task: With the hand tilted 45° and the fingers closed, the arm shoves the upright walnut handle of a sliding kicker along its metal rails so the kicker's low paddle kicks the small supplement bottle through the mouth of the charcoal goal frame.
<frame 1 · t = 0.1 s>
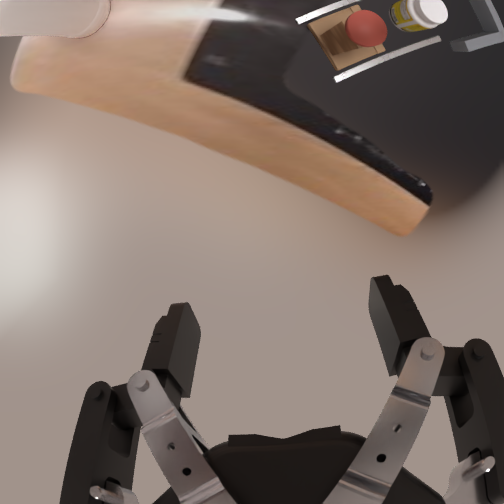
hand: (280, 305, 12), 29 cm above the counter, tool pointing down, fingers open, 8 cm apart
supplement bottle: (402, 17, 25), on the counter
track: (453, 4, 21), on the counter
kicker: (361, 30, 22), point 7 cm above the counter, slide at 0.0 cm
goal: (453, 4, 21), on the counter
bottle: (88, 14, 25), on the counter
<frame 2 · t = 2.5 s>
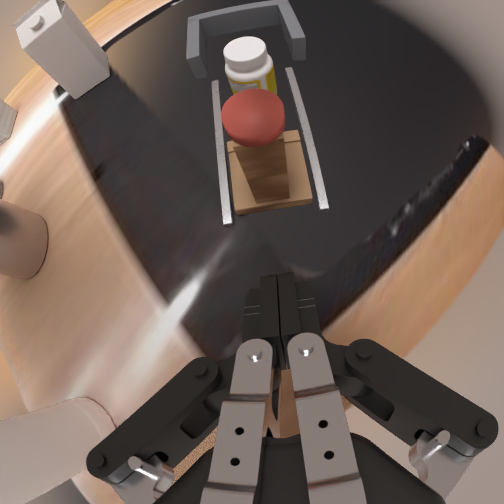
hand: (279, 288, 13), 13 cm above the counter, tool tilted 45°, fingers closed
supplement bottle: (257, 101, 30), on the counter
milk carton: (92, 78, 37), on the counter
track: (246, 45, 32), on the counter
kicker: (261, 141, 22), point 7 cm above the counter, slide at 0.0 cm
goal: (246, 45, 32), on the counter
bottle: (93, 425, 26), on the counter
supplement box: (5, 132, 40), on the counter
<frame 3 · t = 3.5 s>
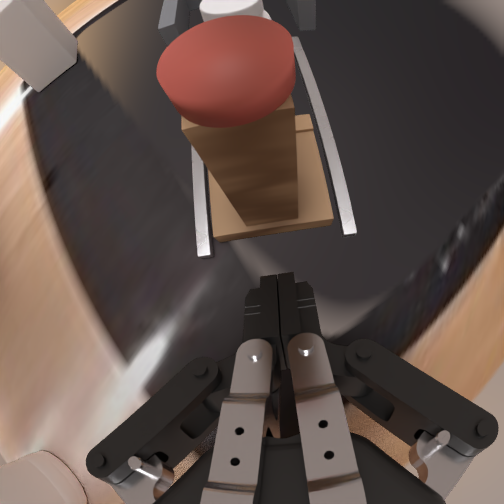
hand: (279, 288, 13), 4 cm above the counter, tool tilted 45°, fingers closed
supplement bottle: (251, 78, 21), on the counter
milk carton: (59, 66, 28), on the counter
track: (238, 15, 23), on the counter
kicker: (252, 126, 13), point 7 cm above the counter, slide at 0.0 cm
goal: (238, 15, 23), on the counter
bottle: (61, 480, 17), on the counter
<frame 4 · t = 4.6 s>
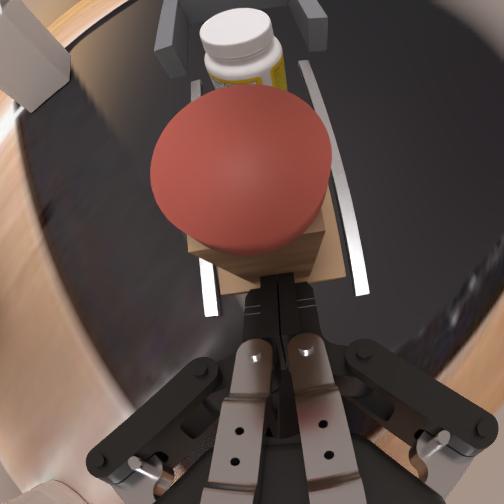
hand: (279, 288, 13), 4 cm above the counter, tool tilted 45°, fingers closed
supplement bottle: (257, 110, 20), on the counter
milk carton: (52, 84, 27), on the counter
track: (241, 31, 22), on the counter
kicker: (263, 190, 12), point 7 cm above the counter, slide at 0.4 cm, touching gripper
goal: (241, 31, 22), on the counter
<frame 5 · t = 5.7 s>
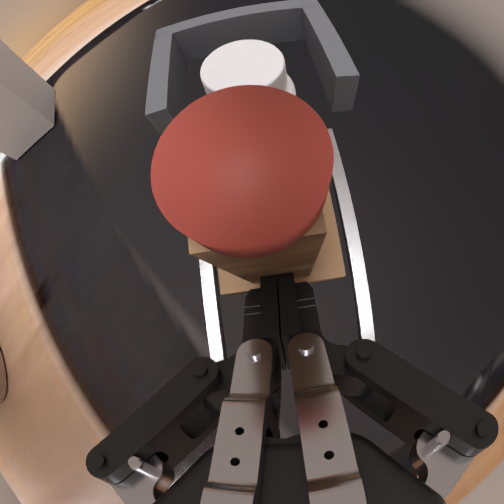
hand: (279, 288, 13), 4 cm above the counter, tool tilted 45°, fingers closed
supplement bottle: (264, 149, 20), on the counter, touching kicker
milk carton: (37, 125, 25), on the counter
track: (250, 77, 21), on the counter
kicker: (263, 190, 12), point 7 cm above the counter, slide at 7.8 cm, touching supplement bottle, gripper
goal: (250, 77, 21), on the counter
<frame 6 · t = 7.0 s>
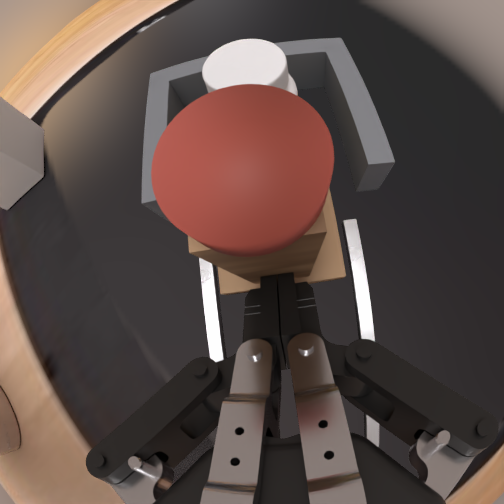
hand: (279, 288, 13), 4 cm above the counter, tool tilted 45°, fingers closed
supplement bottle: (265, 149, 20), on the counter, touching kicker
milk carton: (26, 170, 24), on the counter
track: (262, 138, 20), on the counter
kicker: (264, 190, 12), point 7 cm above the counter, slide at 14.3 cm, touching supplement bottle, gripper
goal: (262, 138, 20), on the counter
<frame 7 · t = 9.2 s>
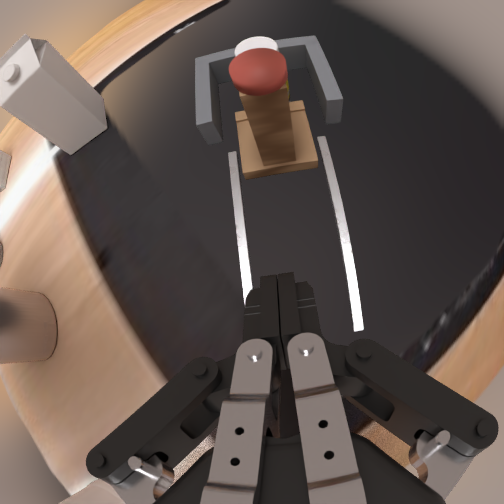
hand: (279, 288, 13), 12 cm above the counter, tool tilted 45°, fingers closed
supplement bottle: (269, 102, 30), on the counter
milk carton: (88, 127, 35), on the counter
track: (267, 98, 30), on the counter
kicker: (267, 103, 22), point 7 cm above the counter, slide at 14.5 cm
goal: (267, 98, 30), on the counter
bottle: (123, 498, 24), on the counter
supplement box: (0, 179, 39), on the counter
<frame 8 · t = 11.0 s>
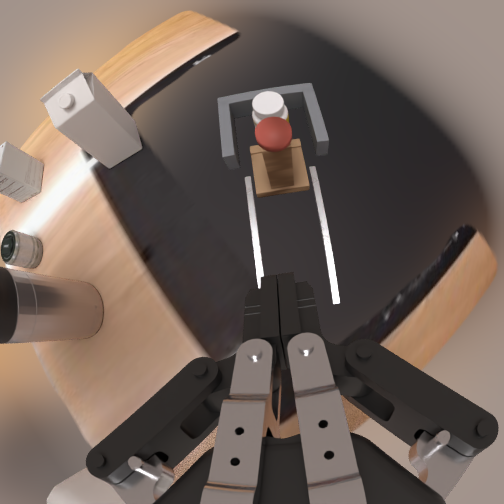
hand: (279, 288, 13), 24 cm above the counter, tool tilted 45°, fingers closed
supplement bottle: (274, 137, 41), on the counter
milk carton: (123, 145, 46), on the counter
track: (272, 133, 41), on the counter
kicker: (275, 147, 33), point 7 cm above the counter, slide at 14.5 cm
goal: (272, 133, 41), on the counter
camera lens: (35, 253, 45), on the counter
bottle: (153, 452, 35), on the counter
supplement box: (33, 183, 49), on the counter
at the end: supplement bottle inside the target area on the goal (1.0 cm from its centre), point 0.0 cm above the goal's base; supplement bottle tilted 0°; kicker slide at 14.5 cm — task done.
